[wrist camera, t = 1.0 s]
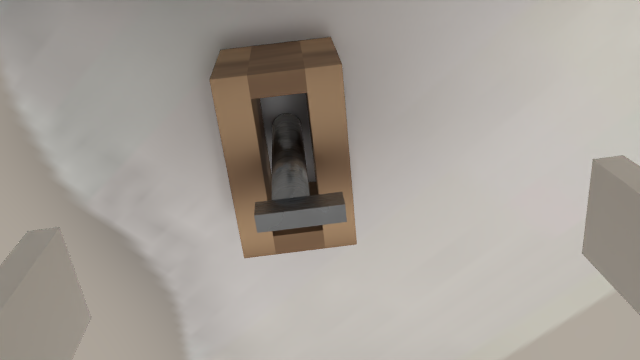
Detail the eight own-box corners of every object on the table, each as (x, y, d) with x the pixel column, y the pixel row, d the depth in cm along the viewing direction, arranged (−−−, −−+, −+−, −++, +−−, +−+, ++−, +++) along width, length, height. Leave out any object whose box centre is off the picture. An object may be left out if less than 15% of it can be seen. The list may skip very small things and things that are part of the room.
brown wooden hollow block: (220, 49, 32) (209, 79, 27) (330, 37, 32) (342, 64, 27) (252, 229, 38) (249, 283, 32) (346, 217, 38) (358, 270, 32)
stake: (259, 116, 34) (252, 206, 24) (324, 108, 34) (344, 195, 24) (263, 143, 35) (258, 241, 25) (326, 135, 35) (347, 230, 25)
